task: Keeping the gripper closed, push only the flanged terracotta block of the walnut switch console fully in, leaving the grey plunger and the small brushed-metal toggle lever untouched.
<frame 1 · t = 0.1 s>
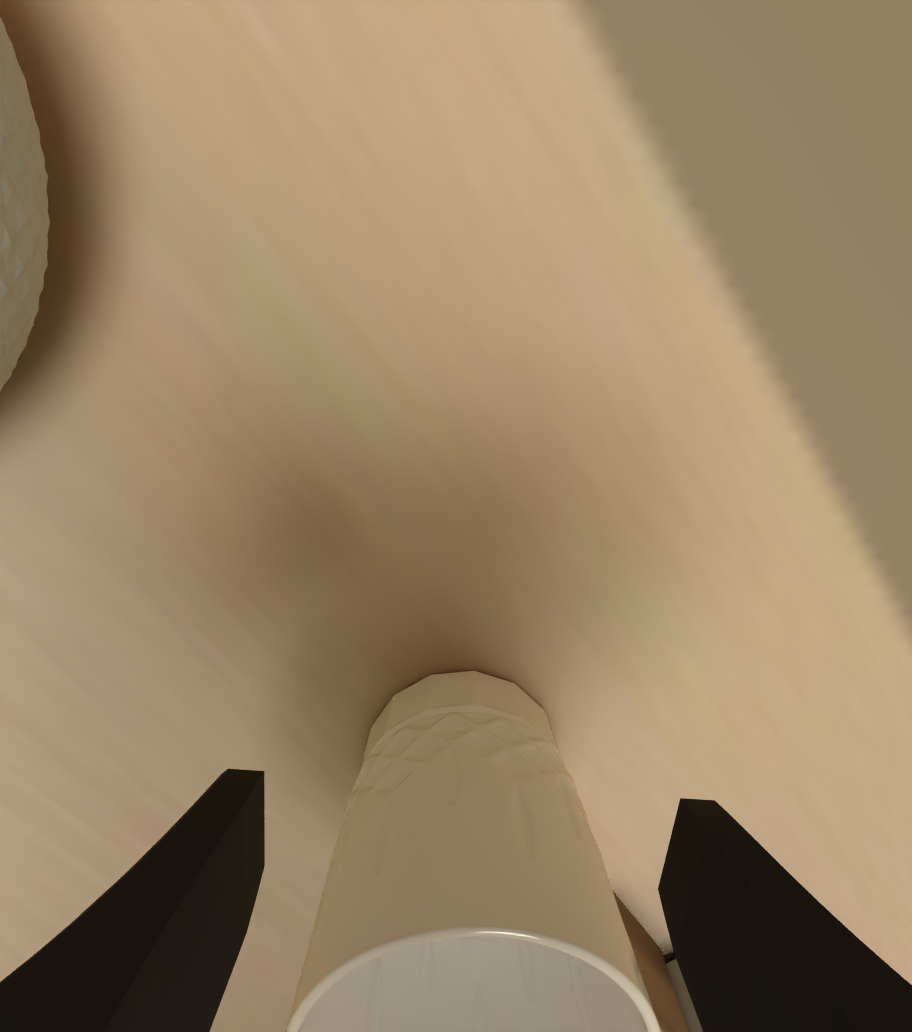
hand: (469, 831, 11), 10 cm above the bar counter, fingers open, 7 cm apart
plunger grey: (748, 1018, 23), point 2 cm above the bar counter, slide at 0.0 cm
white cup: (461, 746, 22), on the bar counter
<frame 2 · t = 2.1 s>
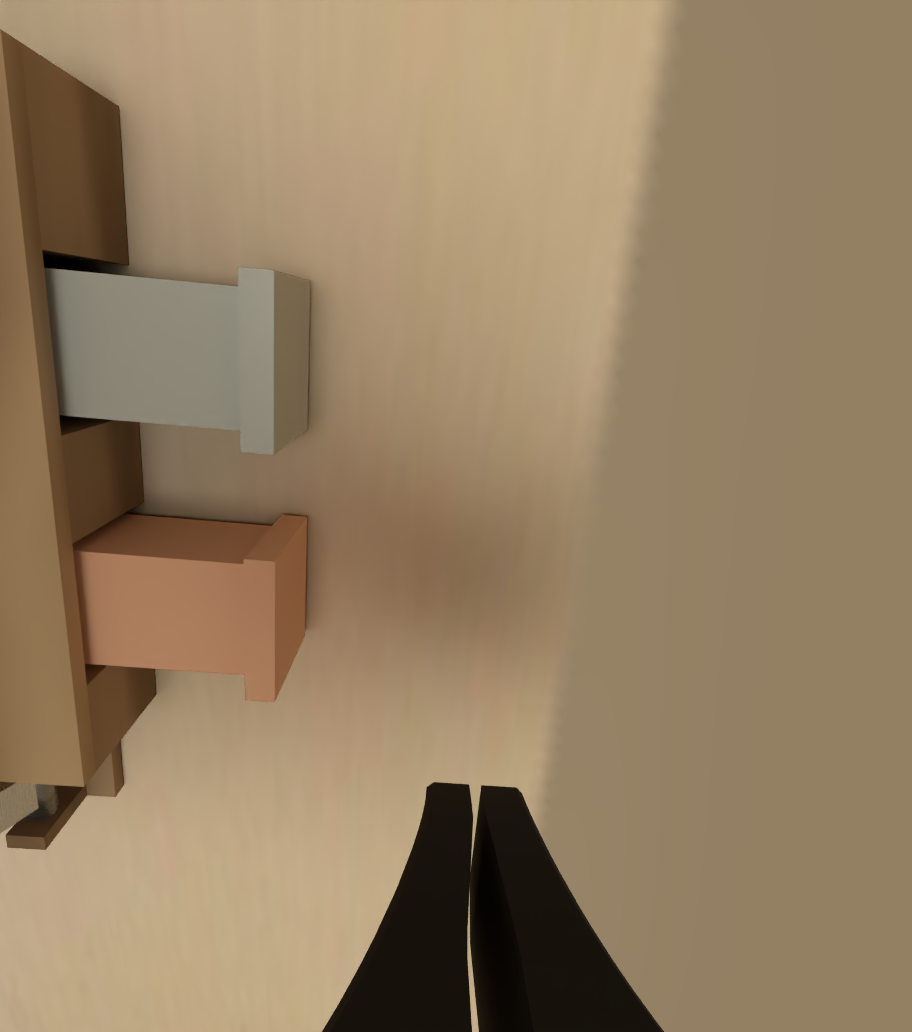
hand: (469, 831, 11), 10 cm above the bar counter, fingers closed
console: (40, 433, 19), on the bar counter
flanged terracotta block: (177, 594, 18), point 2 cm above the bar counter, slide at 0.0 cm
plunger grey: (163, 349, 16), point 2 cm above the bar counter, slide at 0.0 cm
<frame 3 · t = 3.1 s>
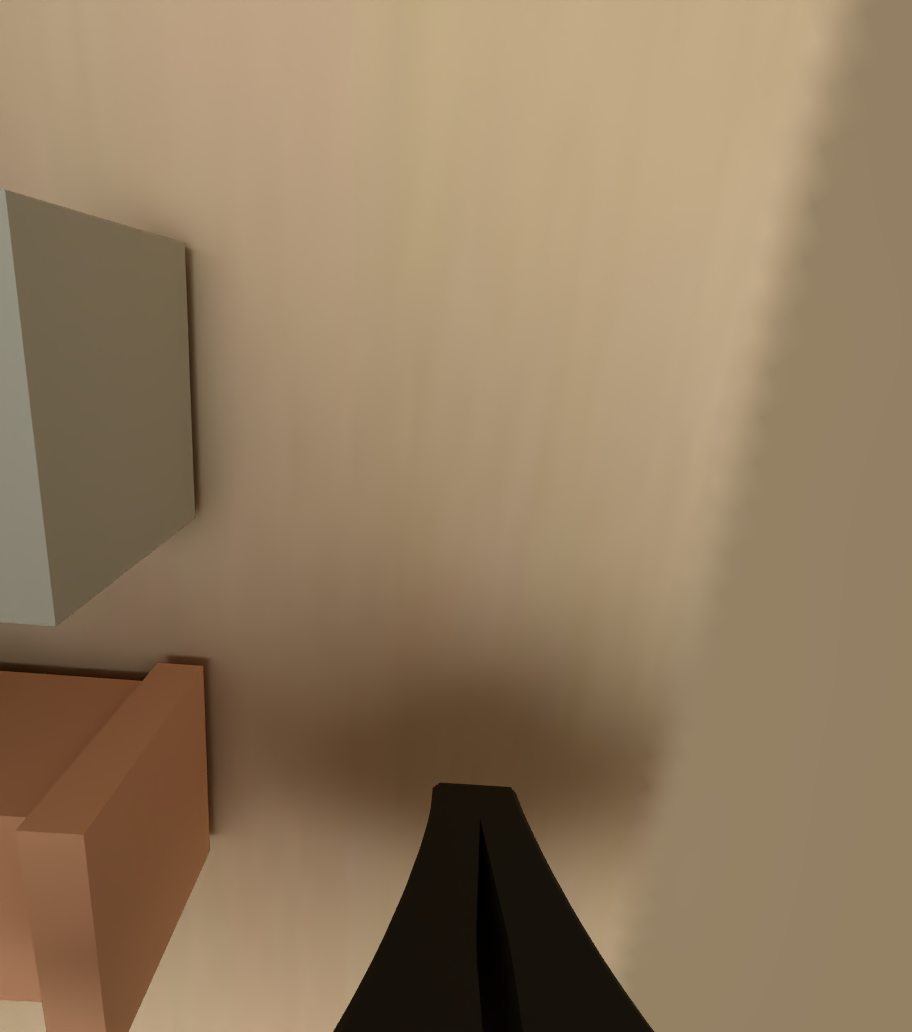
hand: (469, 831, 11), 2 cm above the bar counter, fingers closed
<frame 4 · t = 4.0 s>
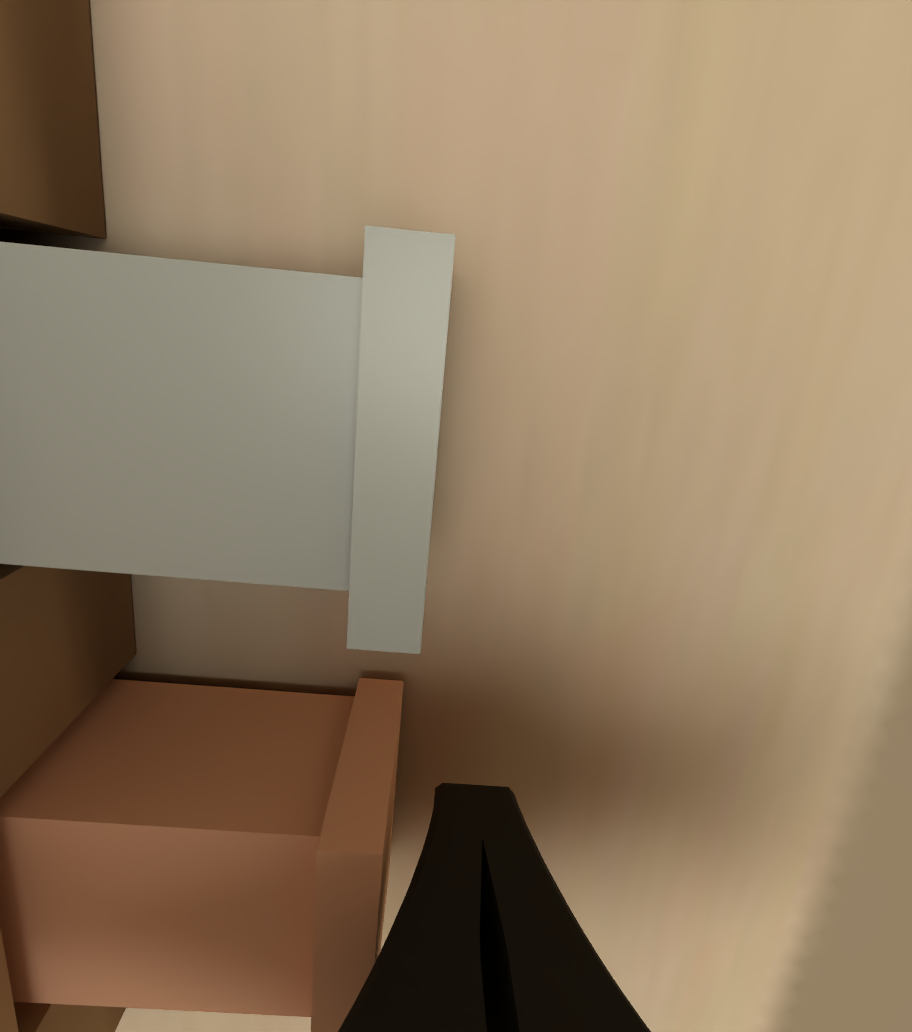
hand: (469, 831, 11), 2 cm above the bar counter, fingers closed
flanged terracotta block: (177, 846, 10), point 2 cm above the bar counter, slide at 0.3 cm, touching gripper
plunger grey: (173, 409, 8), point 2 cm above the bar counter, slide at 0.0 cm
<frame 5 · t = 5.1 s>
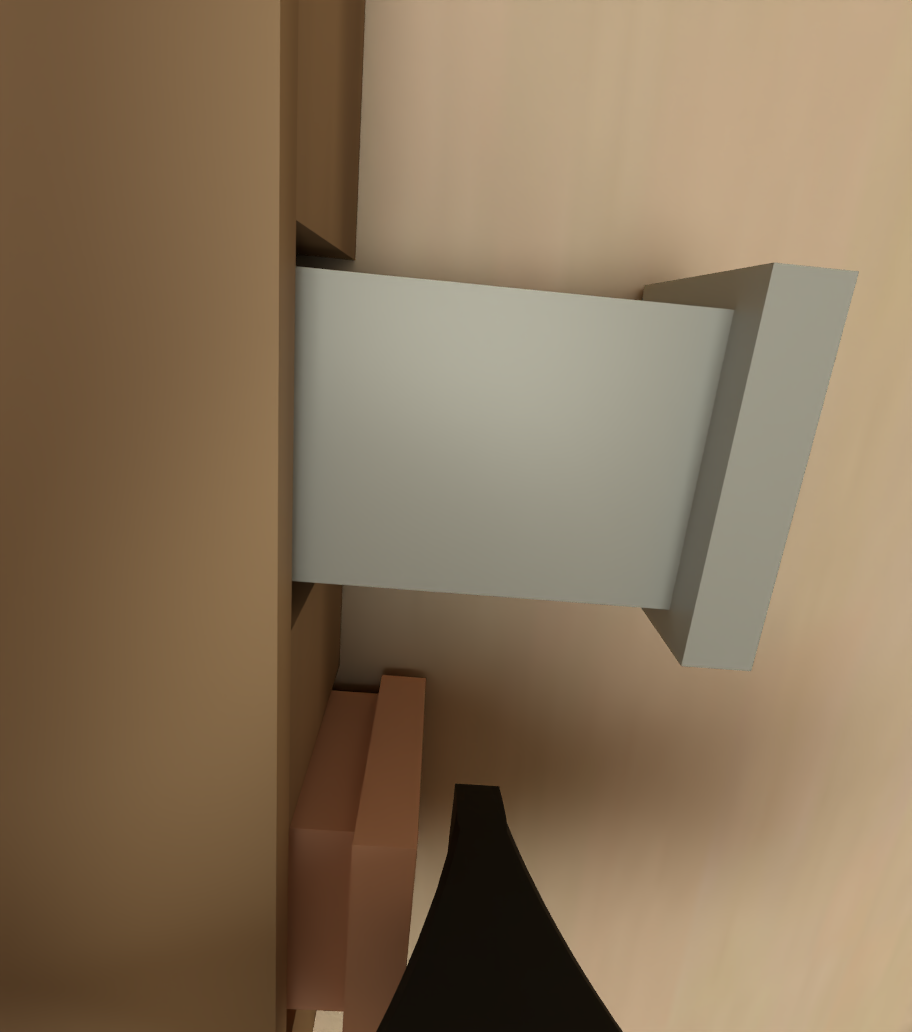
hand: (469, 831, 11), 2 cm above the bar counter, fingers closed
console: (170, 556, 11), on the bar counter
flanged terracotta block: (204, 842, 10), point 2 cm above the bar counter, slide at 3.6 cm, touching gripper
plunger grey: (466, 430, 8), point 2 cm above the bar counter, slide at 0.0 cm
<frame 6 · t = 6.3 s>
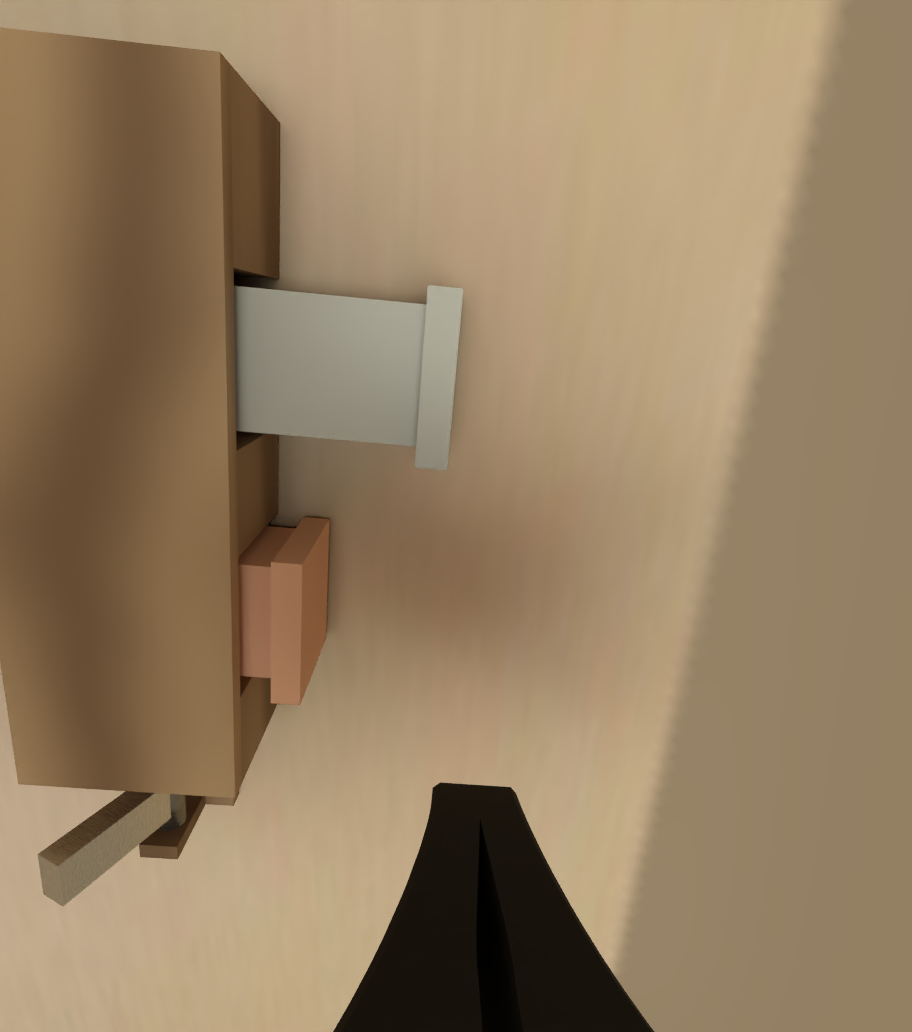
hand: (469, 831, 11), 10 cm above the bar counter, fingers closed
console: (180, 446, 19), on the bar counter
flanged terracotta block: (201, 597, 18), point 2 cm above the bar counter, slide at 3.5 cm
plunger grey: (326, 364, 16), point 2 cm above the bar counter, slide at 0.0 cm
toggle lever: (122, 825, 19), point 4 cm above the bar counter, hinge at 25.0°
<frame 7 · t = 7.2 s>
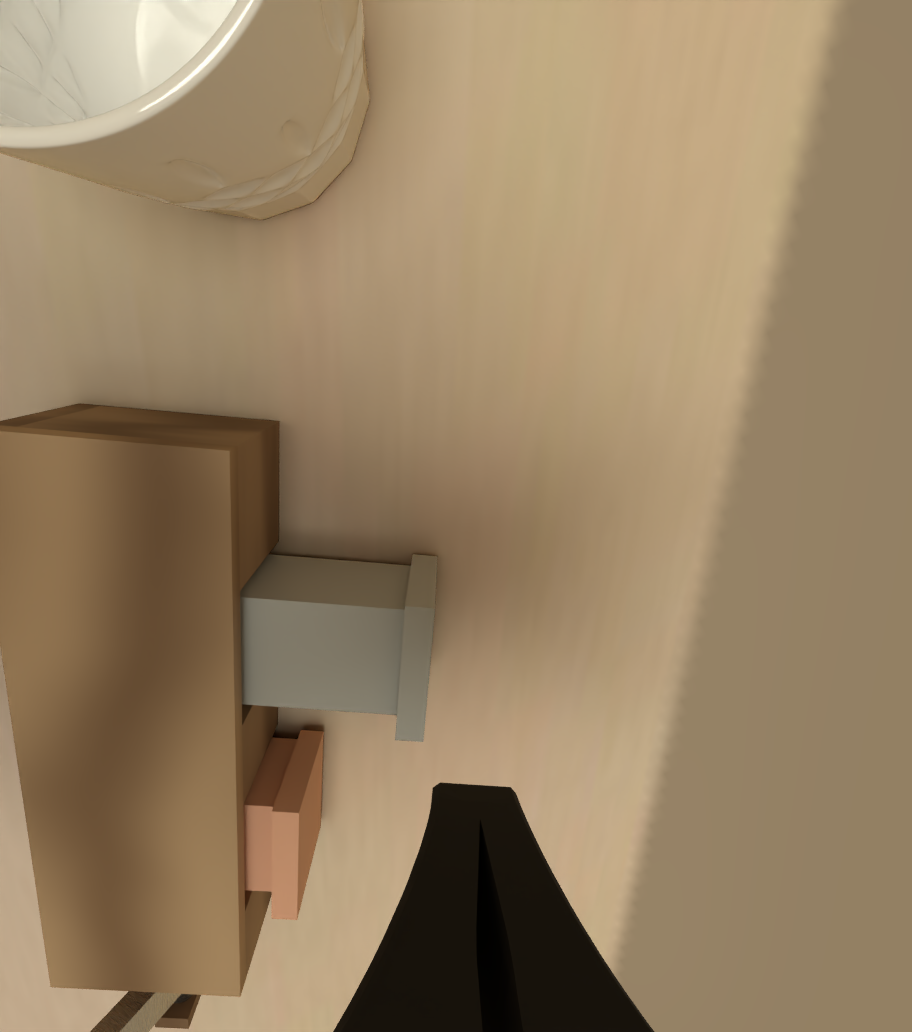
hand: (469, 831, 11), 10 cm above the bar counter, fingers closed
console: (191, 671, 21), on the bar counter
flanged terracotta block: (210, 814, 20), point 2 cm above the bar counter, slide at 3.5 cm
plunger grey: (320, 634, 19), point 2 cm above the bar counter, slide at 0.0 cm
toggle lever: (140, 1009, 21), point 4 cm above the bar counter, hinge at 25.0°
white cup: (244, 82, 16), on the bar counter
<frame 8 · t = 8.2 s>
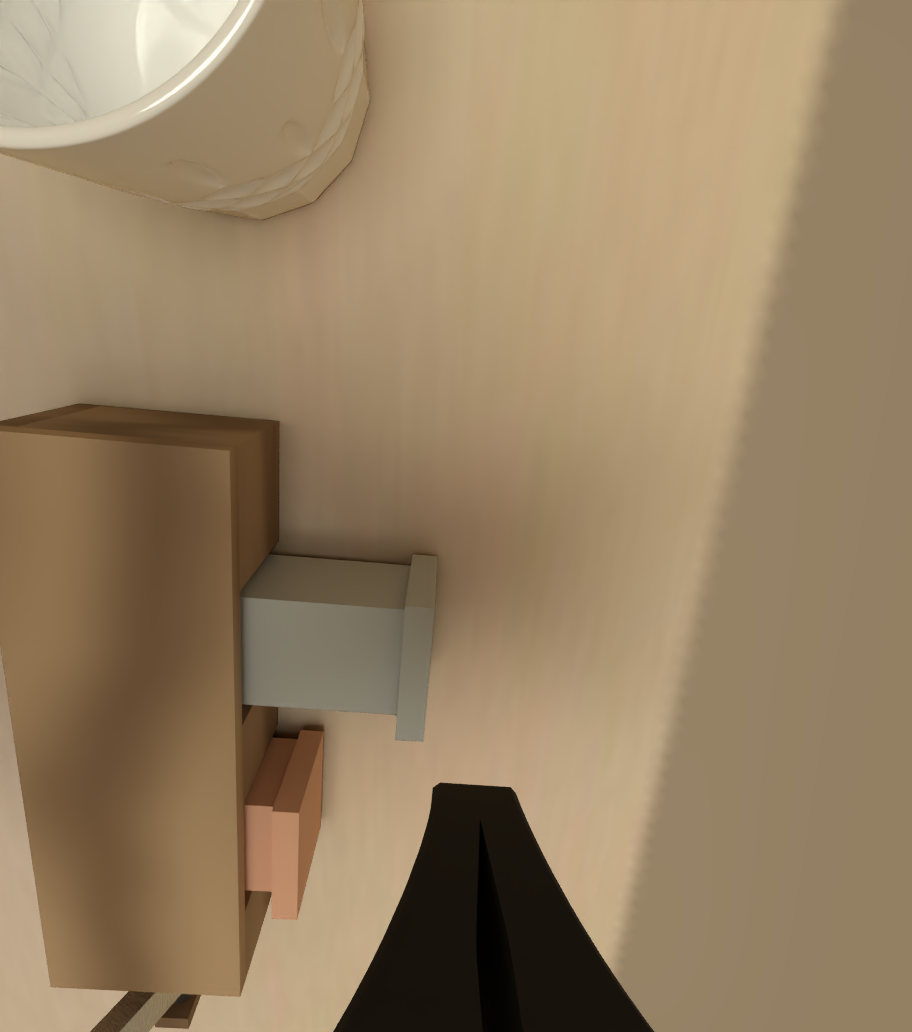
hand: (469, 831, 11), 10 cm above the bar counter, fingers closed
console: (191, 671, 21), on the bar counter
flanged terracotta block: (210, 814, 20), point 2 cm above the bar counter, slide at 3.5 cm
plunger grey: (320, 634, 19), point 2 cm above the bar counter, slide at 0.0 cm
toggle lever: (140, 1009, 21), point 4 cm above the bar counter, hinge at 25.0°
white cup: (244, 82, 16), on the bar counter
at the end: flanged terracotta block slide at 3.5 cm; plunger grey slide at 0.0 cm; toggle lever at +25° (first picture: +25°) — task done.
